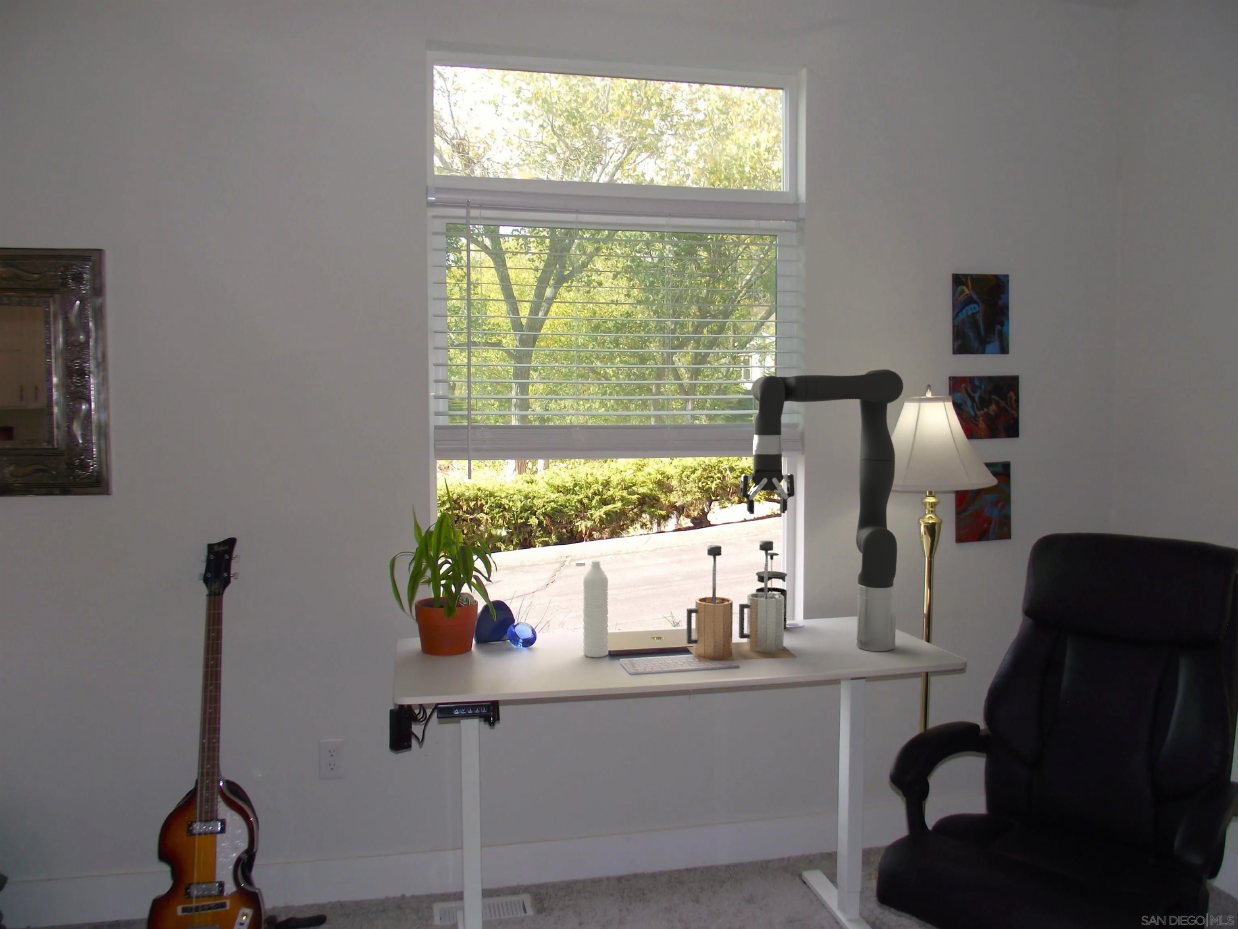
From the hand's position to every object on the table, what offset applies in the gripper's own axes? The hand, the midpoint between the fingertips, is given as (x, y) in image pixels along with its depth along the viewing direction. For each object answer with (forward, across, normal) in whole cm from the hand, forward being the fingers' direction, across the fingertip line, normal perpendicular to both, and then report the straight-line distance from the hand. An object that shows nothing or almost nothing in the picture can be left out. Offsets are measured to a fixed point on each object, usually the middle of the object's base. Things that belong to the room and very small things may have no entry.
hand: (767, 513), depth 230 cm
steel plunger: (+24, 0, 0) cm, 24 cm away
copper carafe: (+36, +16, +3) cm, 40 cm away
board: (+37, +8, +2) cm, 38 cm away
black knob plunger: (+24, +15, +3) cm, 29 cm away
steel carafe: (+36, +1, 0) cm, 36 cm away
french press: (+38, -9, -22) cm, 44 cm away
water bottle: (+37, +46, -5) cm, 60 cm away
